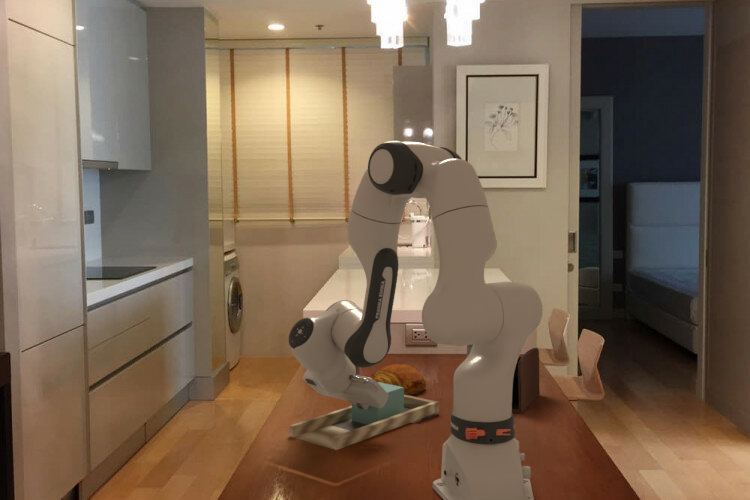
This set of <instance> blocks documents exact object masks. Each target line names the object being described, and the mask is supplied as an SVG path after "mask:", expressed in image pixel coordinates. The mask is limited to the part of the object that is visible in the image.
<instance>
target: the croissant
mask: <svg viewBox="0 0 750 500" xmlns="http://www.w3.org/2000/svg"><path fill="white" fill-rule="evenodd" d="M371 379H373V380H375V381H376V382H381V383H385V384H390V385H395V386H400V387H404V395H409V396H412V395H415V394H418V393H420V392H422V391H423V390H425V389H426V387H427V383H426V382H427V381H426V380H425V378H424V376H423V374H422V373H421V372H419V371H418V369H416V368H415V367H414V366H413V365H409V364H403V363H396V364H389V365H386V366H383V367H382V368H379V369H377V370H375V372H373V373H372V375H371Z"/></svg>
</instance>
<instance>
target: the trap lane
mask: <svg viewBox="0 0 750 500" xmlns="http://www.w3.org/2000/svg"><path fill="white" fill-rule="evenodd" d="M439 412H440V401H435V400H432V399H425V398H423V397H422V398H421V397H417V396H413V395H404V412H403V413H400V414H397V415H394V416H391V417H389V418H386V419H383V420H380V421H377V422H374V423H372V424H369V425H367V424H363V423H359V422H355V421H352V405H350V406H347V407H343V408H340V409H337V410H334V411H330V412H327V413H324V414H322V415H317V416H315V417H311V418H308V419H306V420H302V421H299V422H296V423H293V424H291V425H289V426H288V427H289V428H288V429H289V437H290V438H293V439H297V440H301V441H304V442H307V443H311V444H314V445H317V446H321V447H325V448H327V449H331V450H334V451H338V450H341V449H343V448H345V447H348V446H349V447H350V446H351V445H354V444H357V443H359V442H362V441H365V440H368V439H370V438H372V437H375V436H379V435H381V434H385V432H389V431H392V430H393V429H396V428H399V427H402V426H405V425H407V424H410V423H412V424H416V423H419V422H422V421H424V420H427V419H429V418H433V417H435V416H437V415H440V414H439Z"/></svg>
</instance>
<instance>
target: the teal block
mask: <svg viewBox="0 0 750 500" xmlns="http://www.w3.org/2000/svg"><path fill="white" fill-rule="evenodd" d="M377 383H378V384H379V385H380V386H381V387H382V388H383V389H384V390H385V391H386V392H387V393H388V395H389V397H388V400H387V402H386V403H385V405H384V407H383V408H377V407H372V406H369V407H368V409H367V410H364V409H359V408H356V407H355V405H353V404H352V403H351V406H352V421H355V422H359V423H363V424H367V425H369V424H372V423H374V422H377V421H380V420H383V419H386V418H389V417H391V416H394V415H397V414H400V413H403V412H404V387H400V386H395V385H390V384H385V383H381V382H377Z"/></svg>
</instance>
